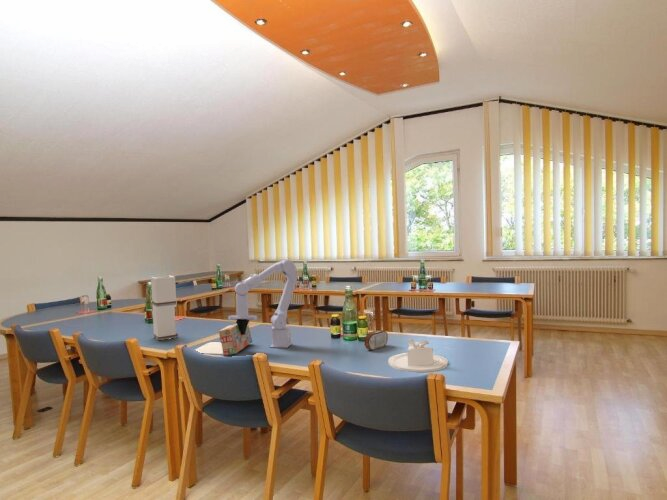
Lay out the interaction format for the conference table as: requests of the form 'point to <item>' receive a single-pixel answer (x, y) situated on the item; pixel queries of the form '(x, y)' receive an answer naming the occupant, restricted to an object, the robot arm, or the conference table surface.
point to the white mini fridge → (164, 307)
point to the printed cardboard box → (234, 339)
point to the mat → (211, 348)
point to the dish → (418, 358)
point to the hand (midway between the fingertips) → (243, 334)
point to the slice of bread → (376, 339)
